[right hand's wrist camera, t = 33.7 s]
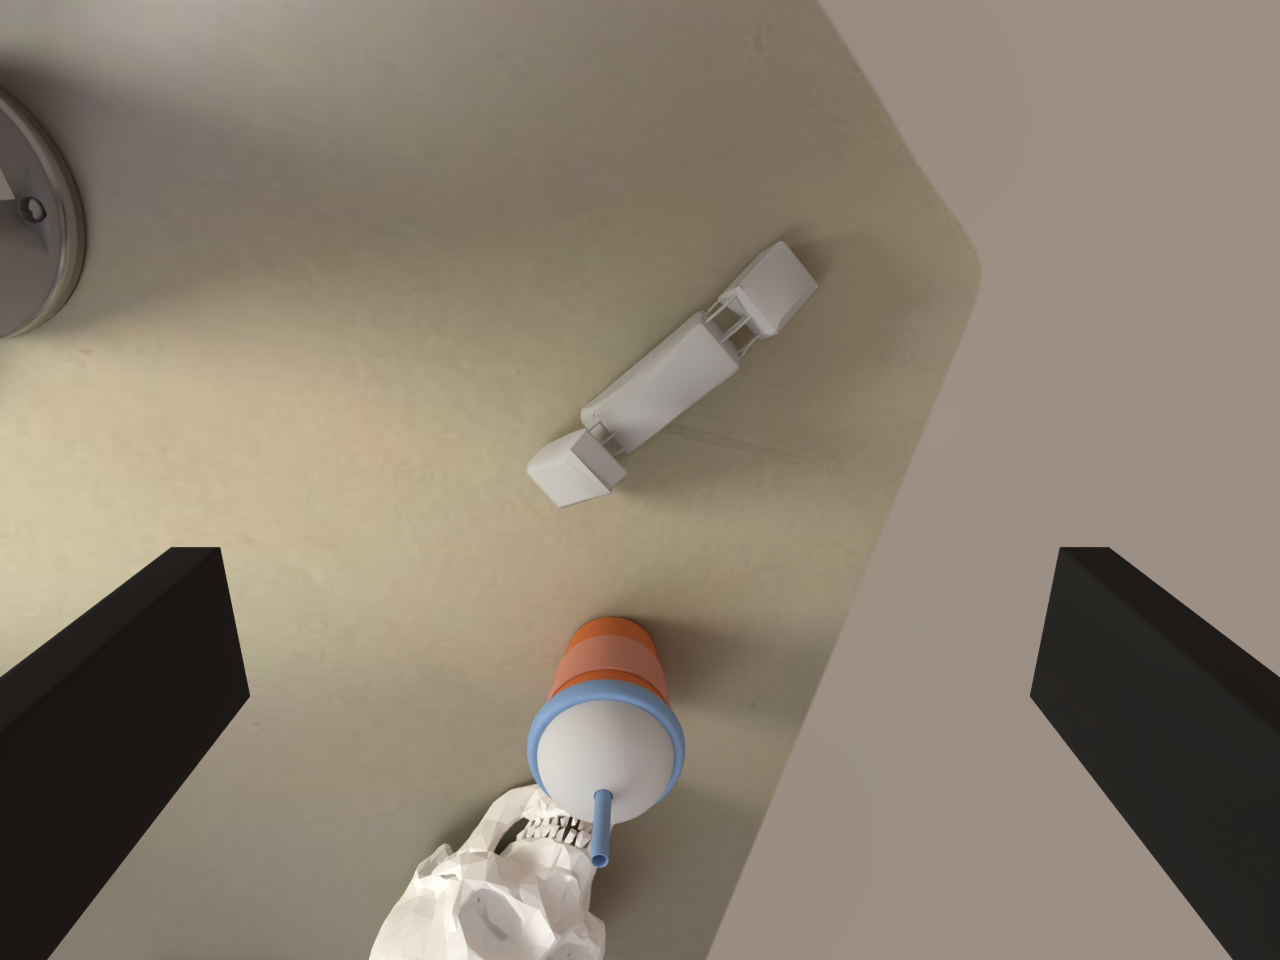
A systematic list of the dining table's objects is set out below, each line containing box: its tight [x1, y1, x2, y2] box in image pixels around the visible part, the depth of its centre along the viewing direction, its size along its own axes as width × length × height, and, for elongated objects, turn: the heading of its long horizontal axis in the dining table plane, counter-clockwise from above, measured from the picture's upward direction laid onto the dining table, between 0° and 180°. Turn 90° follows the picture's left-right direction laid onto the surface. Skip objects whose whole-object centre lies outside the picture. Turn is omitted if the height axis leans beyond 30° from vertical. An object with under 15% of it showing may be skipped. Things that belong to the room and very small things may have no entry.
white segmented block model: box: [527, 241, 818, 508], centre depth 45 cm, size 20×4×7 cm, turn 132°
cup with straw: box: [527, 617, 685, 868], centre depth 46 cm, size 9×9×18 cm
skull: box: [369, 784, 614, 960], centre depth 54 cm, size 13×22×16 cm, turn 143°
